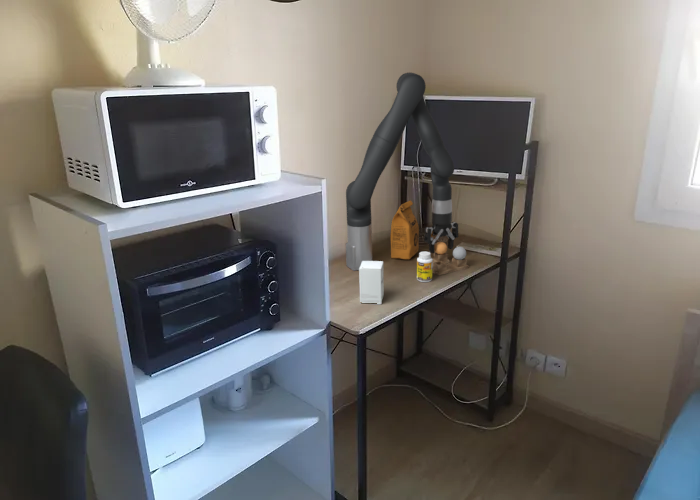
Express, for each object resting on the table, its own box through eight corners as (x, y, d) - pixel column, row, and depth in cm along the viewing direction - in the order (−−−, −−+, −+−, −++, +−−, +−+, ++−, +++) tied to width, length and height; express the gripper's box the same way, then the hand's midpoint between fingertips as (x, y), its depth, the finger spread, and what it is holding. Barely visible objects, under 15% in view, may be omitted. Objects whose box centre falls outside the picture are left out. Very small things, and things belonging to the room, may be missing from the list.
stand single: (438, 264, 209) (439, 256, 208) (431, 260, 213) (431, 252, 212) (449, 262, 211) (449, 254, 210) (441, 258, 215) (442, 250, 214)
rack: (437, 275, 199) (438, 266, 198) (430, 271, 203) (430, 262, 202) (468, 268, 205) (468, 259, 204) (460, 264, 209) (460, 255, 208)
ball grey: (458, 262, 202) (458, 250, 200) (449, 258, 206) (450, 246, 204) (468, 260, 204) (469, 247, 202) (460, 256, 208) (461, 244, 207)
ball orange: (439, 257, 208) (439, 244, 206) (431, 253, 212) (431, 241, 211) (449, 254, 210) (450, 242, 208) (441, 251, 214) (442, 239, 213)
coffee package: (422, 252, 222) (423, 200, 215) (409, 262, 213) (409, 208, 205) (400, 249, 227) (400, 198, 220) (387, 258, 217) (386, 205, 210)
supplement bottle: (415, 282, 194) (415, 255, 191) (418, 276, 199) (418, 250, 196) (430, 283, 192) (431, 256, 189) (433, 277, 197) (434, 251, 194)
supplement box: (381, 304, 177) (381, 268, 173) (359, 303, 178) (358, 268, 174) (384, 295, 184) (383, 260, 180) (362, 294, 185) (361, 260, 181)
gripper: (431, 215, 199) (431, 257, 205) (463, 209, 205) (462, 250, 210) (420, 211, 206) (420, 251, 211) (451, 205, 211) (450, 244, 217)
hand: (441, 250), depth 211 cm, fingers open, 8 cm apart
